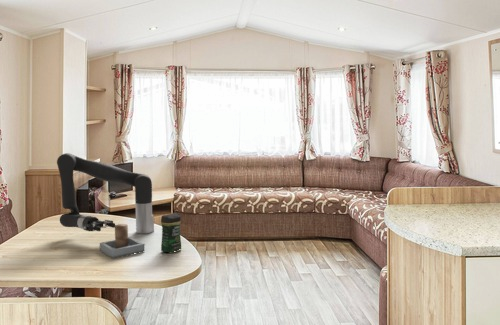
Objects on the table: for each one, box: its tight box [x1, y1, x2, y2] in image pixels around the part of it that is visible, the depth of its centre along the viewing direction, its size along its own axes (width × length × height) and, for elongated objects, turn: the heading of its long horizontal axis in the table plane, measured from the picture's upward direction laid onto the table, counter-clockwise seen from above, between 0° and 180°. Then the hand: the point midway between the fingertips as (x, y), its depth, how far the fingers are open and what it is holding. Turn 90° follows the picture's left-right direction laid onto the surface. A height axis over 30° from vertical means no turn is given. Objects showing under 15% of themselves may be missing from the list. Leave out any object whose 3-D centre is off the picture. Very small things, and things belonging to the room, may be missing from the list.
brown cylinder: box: [114, 223, 129, 249], centre depth 206 cm, size 6×6×12 cm
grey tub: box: [99, 236, 146, 260], centre depth 207 cm, size 16×16×4 cm
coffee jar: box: [160, 212, 182, 253], centre depth 207 cm, size 10×8×19 cm
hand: (107, 227), depth 212 cm, fingers open, 8 cm apart
